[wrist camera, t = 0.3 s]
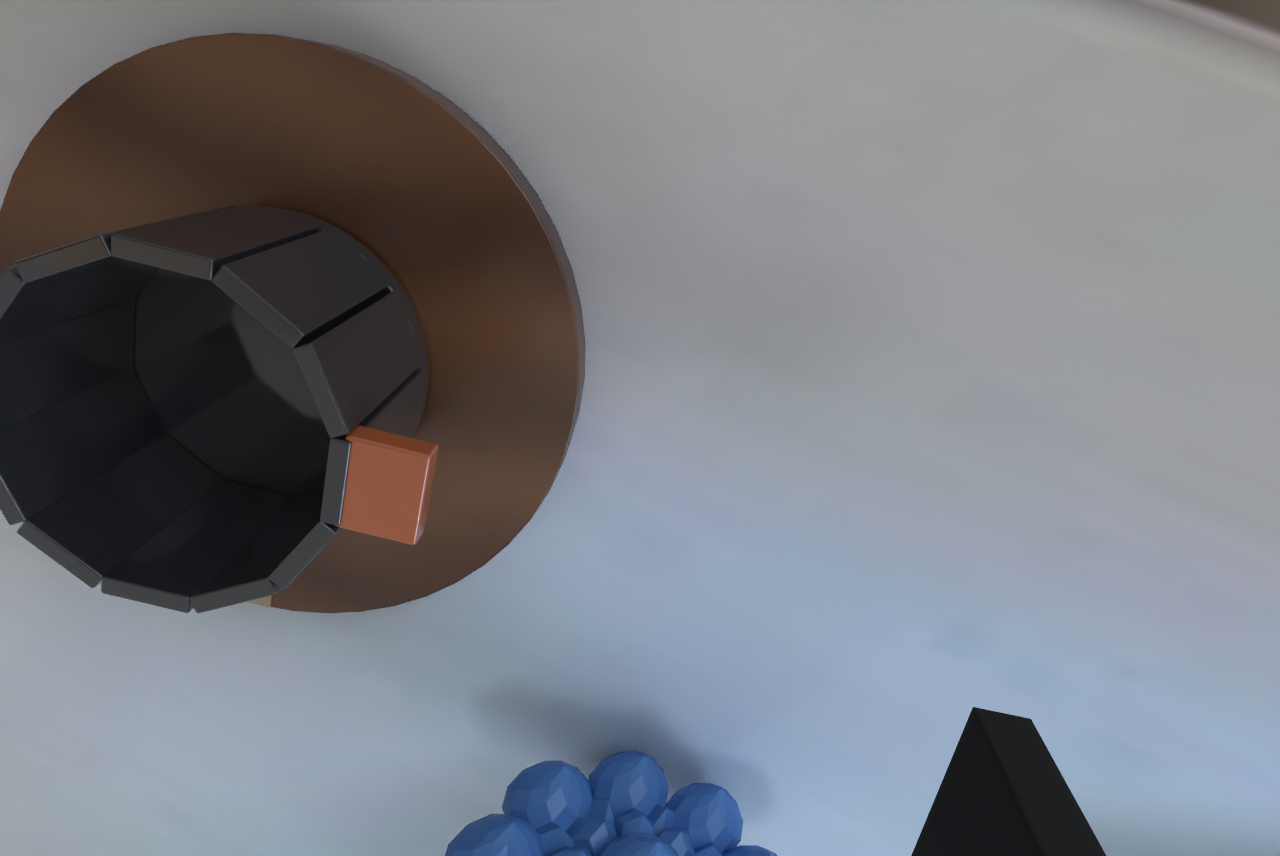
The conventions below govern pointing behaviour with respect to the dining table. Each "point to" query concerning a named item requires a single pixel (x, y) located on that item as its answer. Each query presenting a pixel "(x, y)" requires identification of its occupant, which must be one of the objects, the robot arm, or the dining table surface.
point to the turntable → (380, 220)
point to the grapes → (607, 815)
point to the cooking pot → (209, 404)
